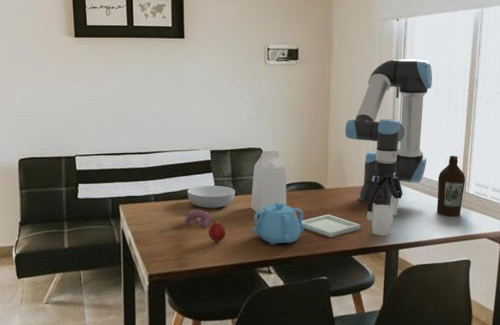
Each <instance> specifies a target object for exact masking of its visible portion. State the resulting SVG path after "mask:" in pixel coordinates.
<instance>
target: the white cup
mask: <svg viewBox="0 0 500 325" xmlns="http://www.w3.org/2000/svg"><path fill="white" fill-rule="evenodd" d="M393 211H394V208H393V207H391V206H390V205H388V204H375V215H374V221H371V226H372V227H371V228H372V229H371V230H372V234H374V235H377V236H382V237H385V236H390V235H391V231H392V226H393V225H392V224H393V218H394V215H393Z"/></svg>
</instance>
